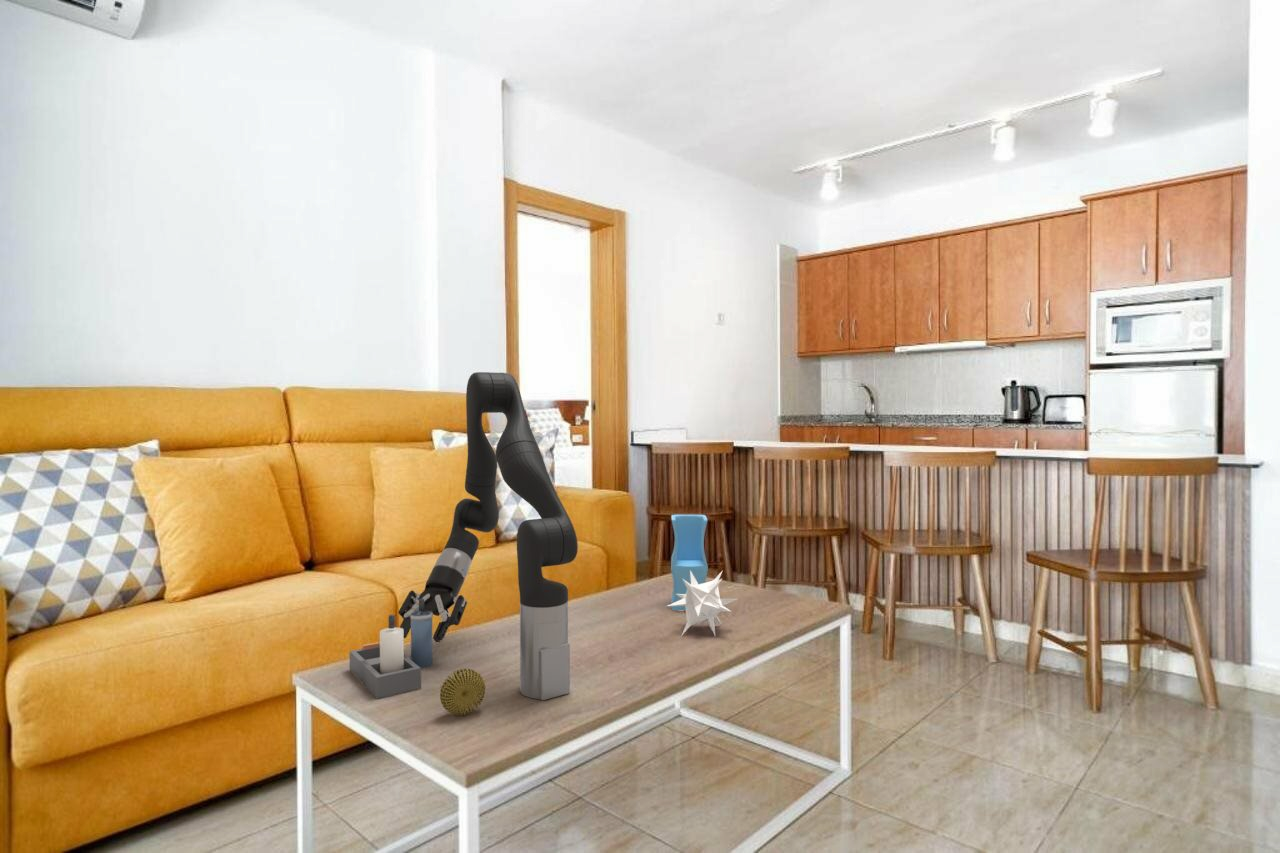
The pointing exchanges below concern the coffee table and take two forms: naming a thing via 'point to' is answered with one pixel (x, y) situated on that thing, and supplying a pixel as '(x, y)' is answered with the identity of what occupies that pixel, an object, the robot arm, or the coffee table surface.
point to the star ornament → (702, 602)
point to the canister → (421, 637)
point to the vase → (688, 553)
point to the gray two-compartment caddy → (386, 664)
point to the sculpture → (462, 692)
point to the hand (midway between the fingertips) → (418, 638)
